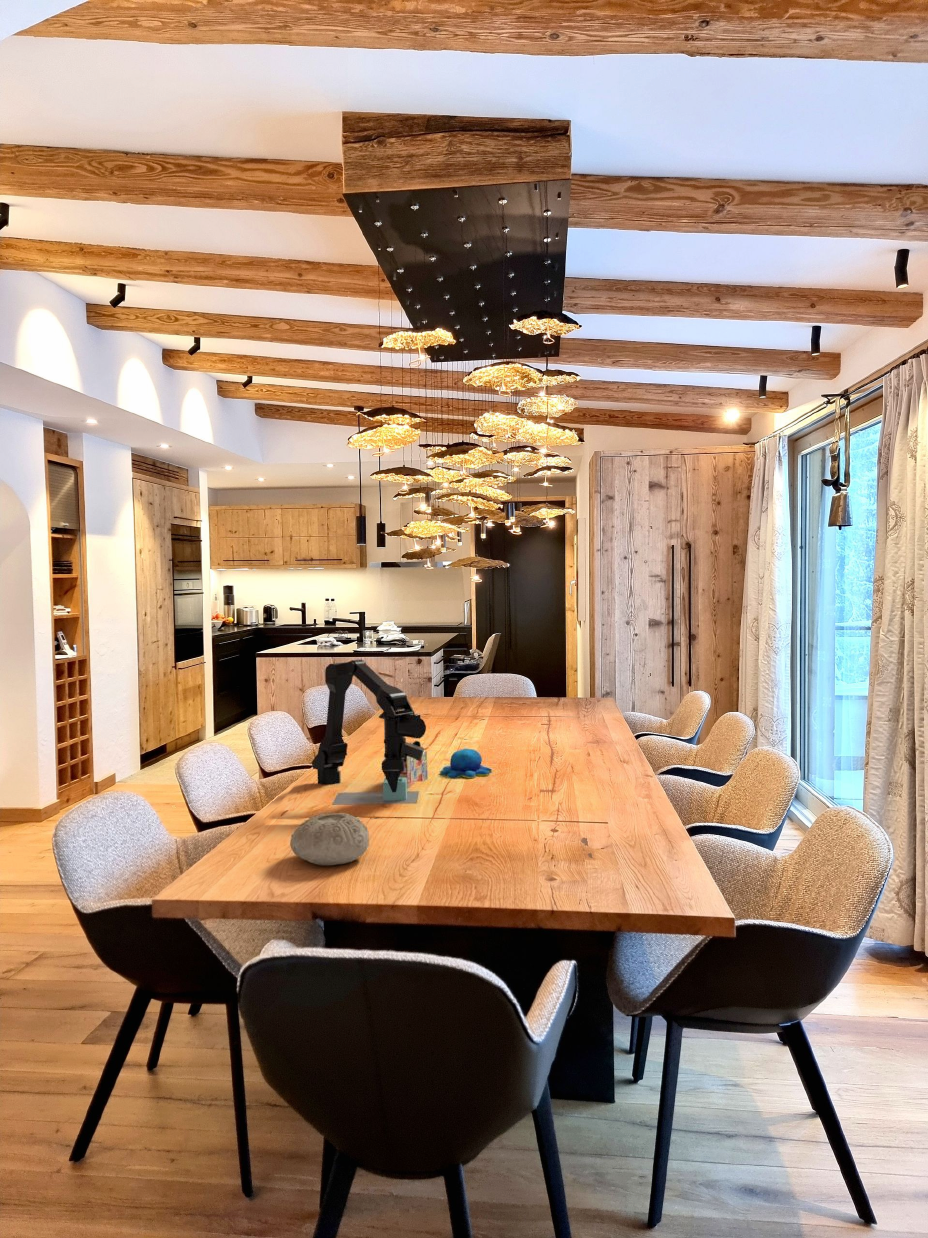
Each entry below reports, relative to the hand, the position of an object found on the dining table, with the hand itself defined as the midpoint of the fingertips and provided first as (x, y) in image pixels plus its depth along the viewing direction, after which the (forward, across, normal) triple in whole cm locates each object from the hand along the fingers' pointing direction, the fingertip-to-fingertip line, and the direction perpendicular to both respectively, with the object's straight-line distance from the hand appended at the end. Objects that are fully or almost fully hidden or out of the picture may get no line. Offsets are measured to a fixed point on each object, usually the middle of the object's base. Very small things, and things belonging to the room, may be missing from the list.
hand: (395, 788), depth 247 cm
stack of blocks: (+4, +21, -3) cm, 22 cm away
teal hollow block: (+3, 0, 0) cm, 3 cm away
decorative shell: (+4, -51, +12) cm, 52 cm away
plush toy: (+5, +38, -21) cm, 43 cm away
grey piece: (+4, 0, +6) cm, 7 cm away
